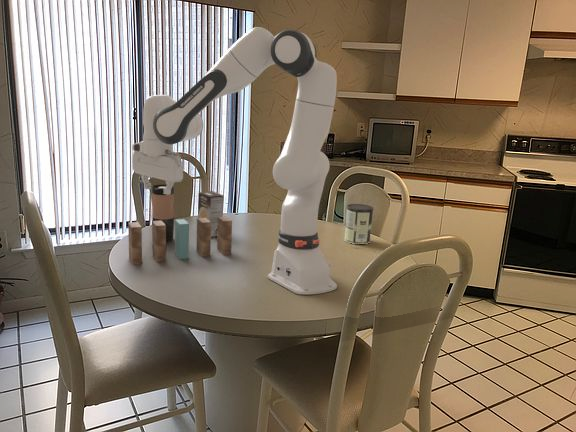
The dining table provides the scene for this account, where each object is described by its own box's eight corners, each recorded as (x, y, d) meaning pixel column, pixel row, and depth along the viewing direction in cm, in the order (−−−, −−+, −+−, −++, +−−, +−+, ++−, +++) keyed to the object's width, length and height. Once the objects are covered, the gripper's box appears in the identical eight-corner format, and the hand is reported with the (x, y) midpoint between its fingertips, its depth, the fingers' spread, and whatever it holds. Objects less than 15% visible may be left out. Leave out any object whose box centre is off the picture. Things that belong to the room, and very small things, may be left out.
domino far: (138, 257, 156) (137, 221, 153) (142, 263, 151) (141, 226, 148) (129, 258, 155) (128, 222, 152) (132, 264, 150) (131, 227, 147)
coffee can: (356, 236, 196) (360, 202, 193) (375, 243, 188) (379, 208, 185) (338, 239, 190) (341, 205, 187) (356, 246, 182) (360, 210, 179)
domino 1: (161, 255, 160) (161, 220, 157) (165, 260, 155) (165, 225, 152) (152, 255, 158) (152, 221, 156) (156, 261, 153) (156, 225, 150)
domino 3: (204, 250, 167) (205, 217, 164) (210, 256, 161) (211, 222, 159) (196, 251, 165) (196, 218, 162) (201, 257, 160) (202, 222, 157)
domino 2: (183, 252, 163) (184, 219, 160) (188, 258, 158) (189, 223, 155) (175, 253, 162) (175, 219, 159) (179, 259, 157) (179, 224, 154)
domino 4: (225, 248, 170) (226, 216, 167) (231, 254, 165) (232, 220, 162) (217, 249, 169) (217, 216, 166) (222, 254, 164) (223, 221, 161)
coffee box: (197, 231, 189) (197, 191, 185) (211, 229, 193) (211, 190, 189) (209, 237, 182) (209, 196, 178) (223, 235, 186) (224, 195, 182)
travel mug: (173, 236, 181) (173, 184, 176) (174, 242, 174) (174, 188, 169) (152, 236, 179) (152, 184, 174) (152, 242, 172) (151, 188, 167)
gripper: (188, 152, 145) (187, 196, 148) (145, 143, 156) (144, 185, 159) (172, 153, 140) (171, 199, 143) (128, 144, 151) (128, 187, 154)
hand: (157, 191), depth 151 cm, fingers open, 8 cm apart
